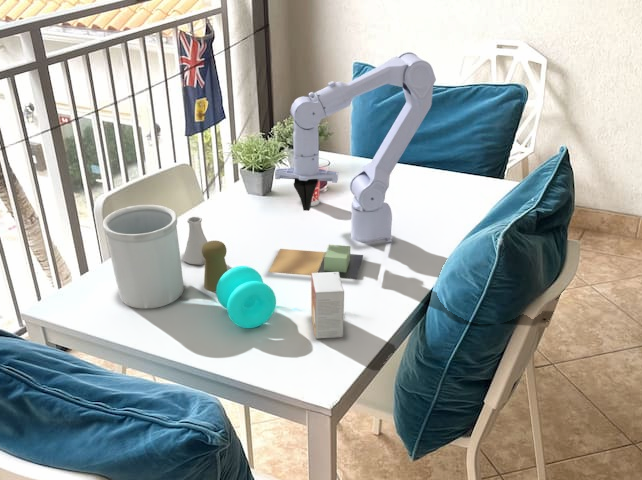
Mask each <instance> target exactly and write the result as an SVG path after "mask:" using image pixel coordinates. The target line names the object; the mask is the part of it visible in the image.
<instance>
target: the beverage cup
mask: <svg viewBox="0 0 642 480" xmlns="http://www.w3.org/2000/svg"><path fill="white" fill-rule="evenodd" d="M320 193H321V181H318V184H317V186H316V188H315V191H314V194H313V197H312V201H311V207H315V206H317V205H319V204H320Z"/></svg>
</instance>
